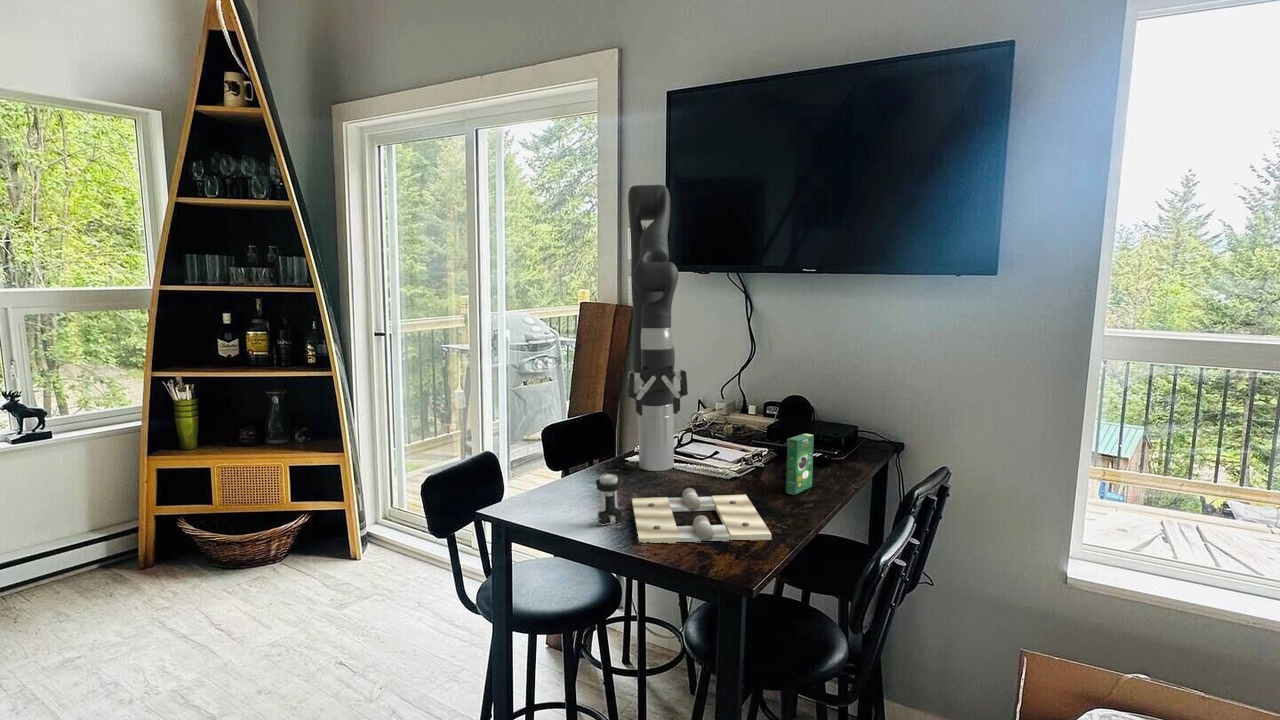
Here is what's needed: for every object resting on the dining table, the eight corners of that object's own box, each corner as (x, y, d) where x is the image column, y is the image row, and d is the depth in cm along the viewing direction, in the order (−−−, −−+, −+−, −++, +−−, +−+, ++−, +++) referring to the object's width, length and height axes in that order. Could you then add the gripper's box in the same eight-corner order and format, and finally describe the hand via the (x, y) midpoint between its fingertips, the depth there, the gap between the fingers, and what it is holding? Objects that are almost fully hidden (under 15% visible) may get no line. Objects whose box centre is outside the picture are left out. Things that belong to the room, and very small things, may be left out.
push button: (599, 531, 143) (599, 483, 142) (586, 523, 147) (585, 477, 146) (627, 523, 147) (626, 477, 145) (612, 516, 151) (612, 471, 150)
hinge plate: (632, 503, 159) (632, 489, 158) (746, 499, 161) (746, 486, 160) (638, 544, 136) (638, 528, 136) (771, 539, 138) (771, 524, 137)
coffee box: (802, 484, 171) (804, 431, 169) (813, 487, 169) (814, 433, 167) (784, 492, 165) (786, 438, 163) (795, 495, 163) (797, 440, 161)
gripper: (682, 344, 172) (683, 410, 173) (624, 346, 170) (626, 413, 171) (689, 347, 164) (690, 415, 166) (629, 348, 162) (630, 418, 164)
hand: (657, 414), depth 169 cm, fingers open, 8 cm apart
